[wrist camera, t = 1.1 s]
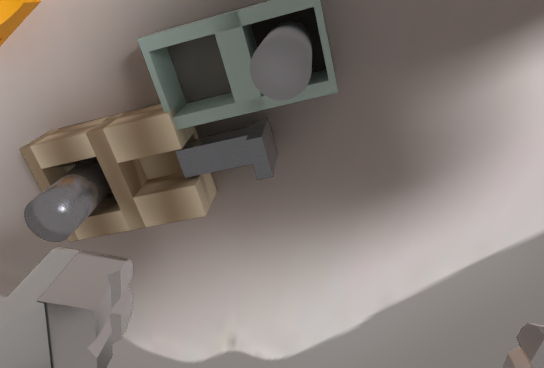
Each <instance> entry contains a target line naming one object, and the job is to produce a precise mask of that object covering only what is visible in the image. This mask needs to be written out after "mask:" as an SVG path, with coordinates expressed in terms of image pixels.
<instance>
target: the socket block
mask: <svg viewBox="0 0 544 368" xmlns="http://www.w3.org/2000/svg"><path fill="white" fill-rule="evenodd" d="M176 108H177V106H176ZM176 108H173V109H172V110H171V111H170V112H166V113H164V110H163V108H162V105H161V104H157V105H153V106H149V107H145V108H141V109H137V110H133V111H129V112H125V113H120V114H116V115H112V116H108V117H104V118H100V119H96V120H92V121H88V122H84V123H80V124H76V125H72V126H67V127H63V128H59V129H55V130H51V131H49V132H47V133H45V134H44V135H42V136H40V137H39V138H37V139H35V140H34V141H32V142H30V143H29V144H27V145H25V146H24V147H22V148H20V149H19V150H20V151H21V153H22V155H23V157H24V159H25V161H26V163H27V165H28V167H29V168H30V170H31V172H32V174H33V176H34V178H35V180H36V182H37V183H38V185H39V187H40V189H41V191H42V192H44V191H45V190H46V189H47V188H49V187H50V186H51V185H52V184H54V183H55V182H56V181H57V180H59V179H60V178H61V177H62V176H64V175H65V174H66V173H67V172H68V171H70V170H71V169H72V168H73V167H75V166H76V165H77V163H76V161H79V160H83V159H88V158H92V157H97V160H98V162H99V164H100V166H101V168H102V170H103V173H104V175H105V177H106V179H107V181H108V184H109V186H110V188H111V190H112V192H113V193H109V194H108V195H107V197H106V198H105V199H104V200H103V201H102V202H101V203H100V204H99V205H98V206H97V207H96V208H95V209H94V211H93V212H92V213H91V214H90V215H89V216H88V217H87V218H86V219H85V220H84V221H83V222H82V223H81V224H80V226H79V227H78V228H77V229H76V230H75V231H74V232H73V233H72V234H71V235H70V236H69V237H68V238H67V240H68V242H71V241H77V240H82V239H87V238H93V237H98V236H103V235H108V234H114V233H119V232H124V231H130V230H135V229H140V228H145V227H151V226H156V225H161V224H167V223H172V222H177V221H183V220H188V219H193V218H198V217H204V216H207V213H208V211H209V209H210V207H211V204H212V202H213V200H214V198H215V195H216V193H217V190H216V187H215V184H214V181H213V178H212V175H211V173H207V174H202V175H197V176H192V177H187V178H185V176H184V174H183V171H182V168H181V166H180V163H179V160H178V158H177V155H176V152H175V151H176V150H179V149H182V148H183V146H184V145H185V144H186V142H187V141H189V140H193V139H197V138H198V135H197V132H196V129H195V126H192V127H187V128H183V129H179V130H177V128H176V125H175V122H174V120H173V117H174V116H175V115H176V114H177V112H176V111H178V110H176ZM177 109H178V108H177ZM174 110H175V111H174ZM178 112H179V111H178Z"/></svg>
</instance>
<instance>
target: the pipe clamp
mask: <svg viewBox="0 0 544 368" xmlns="http://www.w3.org/2000/svg"><path fill="white" fill-rule="evenodd" d="M40 2H41V1H40V0H0V46H1V45H2V44H3V42H4V41H5V40H6V39H7V38H8V37H9V36H10V35H11V34H12V33H13V31H14V30H15V29H16V28H17V27H18V26H19V25H20V24H21V23H22V22H23V20H24V19H25V18H26V17H27V16H28V15H29V14H30V13H31V12H32V10H33V9H34V8H35V7H36V6H37V5H38V4H39V3H40Z"/></svg>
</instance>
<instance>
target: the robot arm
mask: <svg viewBox="0 0 544 368" xmlns="http://www.w3.org/2000/svg"><path fill="white" fill-rule="evenodd" d="M132 277H133V263H132V262H131V260H130V259H126V258H121V257H115V256H110V255H104V254H99V253H93V252H88V251H80V250H75V249H69V248H64V247H57V248H54V249H52V250H51V251H50V252H49V253H48V254H47V255H46V256H45V257H44V258H43V259H42V261H41V262H40V263H39V264H38V265H37V266H36V267H35V268H34V269H33V270H32V271H31V272H30V273H29V274H28V275H27V276H26V277H25V278H24V279H23V281H22V282H21V283H20V284H19V285H18V286H17V287H16V288H15V289H14V290H13V291H12V292H11V293H10V294H9V295H8V296H7V297H3V296H0V368H107V366H108V364H109V362H110V360H111V358H112V344H114V343H115V342H117V341H118V340H120V339H121V338H122V337H123V335H124V332H125V330H126V328H127V326H128V322H129V319H130V316H131V311H132V304H133V293H132V291H131V290H130V289H129V287H128V284H129V282H130V280H131V279H132ZM516 338H517V340H518V343H519V347H518V348H516V349H514V350H513V351H511V352H509V353H508V355H507V357H506V359H505V361H504V363H503V366H502V368H544V326H543V325H537V324H530V323H527V324H526V325H525V326H523V327H522V328H521V330H520V332H519V334H518V335H517V337H516Z"/></svg>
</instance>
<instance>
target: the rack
mask: <svg viewBox="0 0 544 368" xmlns="http://www.w3.org/2000/svg"><path fill="white" fill-rule="evenodd" d="M311 7H314V10H315V15H316V20H317V25H318V30H319V35H320V40H321V45H322V50H323V54H324V59H325V64H326V70H322V71H318V72H314V73H311V72H312V38H311V35H310V33H309V31H308V30H307V29H306V28H305V27H304V26H303V25H302V24H300V23H298V22H295V21H284V22H281V23H279V24H277V25H276V26H274V27H273V28H272V30H271V31H270V32H269V33H268V35H267V36H266V37H265V39H264V40H263V41H262V43H261V44H260V45H259V47H258V48H257V46H256V42H255V38H254V35H253V31H252V27H251V24H252V23H256V22H260V21H263V20H267V19H271V18H274V17H278V16H282V15H286V14H289V13H293V12H297V11H300V10H304V9H308V8H311ZM212 34H215V37H216V41H217V44H218V47H219V51H220V54H221V57H222V61H223V64H224V67H225V71H226V74H227V77H228V81H229V84H230V87H231V91H232V93H228V94H223V95H219V96H215V97H211V98H207V99H203V100H199V101H195V102H190V103H186V100H185V97H184V94H183V91H182V89H181V86H180V83H179V80H178V77H177V74H176V71H175V68H174V66H173V63H172V60H171V57H170V54H169V51H168V48H167V47H168V46H171V45H175V44H179V43H182V42H186V41H190V40H193V39H197V38H201V37H204V36H208V35H212ZM137 40H138V43H139V46H140V48H141V51H142V54H143V57H144V59H145V62H146V65H147V67H148V70H149V73H150V75H151V78H152V81H153V83H154V86H155V89H156V92H157V94H158V97H159V100H160V102H161V105H162V108H163V110H164V113H166V112H170V111H171V110H172V109H173V108H176V106H177V108H178V109H177V108H176V110H178V111H179V112H178V111H176V112H177V114H176V115H175V116H174V117H173V120H174V122H175V125H176V128H177V130H179V129H183V128H187V127H192V126H196V125H200V124H205V123H209V122H213V121H218V120H222V119H226V118H231V117H235V116H239V115H244V114H248V113H252V112H257V111H261V110H265V109H270V108H274V107H278V106H282V105H287V104H291V103H295V102H300V101H304V100H308V99H313V98H317V97H321V96H326V95H330V94H334V93H339V92H338V87H337V82H336V77H335V72H334V67H333V62H332V57H331V52H330V47H329V42H328V37H327V32H326V26H325V21H324V16H323V11H322V6H321V1H320V0H269V1H266V2H262V3H258V4H255V5H251V6H248V7H244V8H241V9H237V10H233V11H230V12H226V13H223V14H219V15H215V16H212V17H208V18H205V19H201V20H198V21H194V22H190V23H187V24H183V25H180V26H176V27H173V28H169V29H165V30H162V31H158V32H155V33H152V34H150V35H147V36H144V37H142V38H139V39H137ZM174 111H175V110H174Z"/></svg>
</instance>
